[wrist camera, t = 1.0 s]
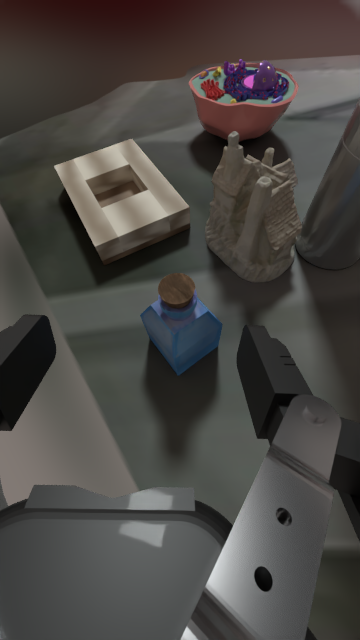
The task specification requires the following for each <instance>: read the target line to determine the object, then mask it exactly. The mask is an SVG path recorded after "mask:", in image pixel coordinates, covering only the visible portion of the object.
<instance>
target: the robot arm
mask: <svg viewBox="0 0 360 640" xmlns="http://www.w3.org/2000/svg"><path fill="white" fill-rule="evenodd" d="M295 245H296V249H297V251H298V252H299V254H300V255H301V256H302V257H303V258H304V259H305V260H306V261H308V262H309V263H311V264H313V265H315V266H318V267H321V268H325V269H334V270H336V269H343V268H347V267H349V266H351V265H353V264H354V263H355V262H356V261H357V260H358V259H359V258H360V98H359V100H358V103H357V105H356V107H355V109H354V111H353V113H352V116H351V118H350V120H349V122H348V124H347V126H346V129H345V131H344V133H343V135H342V138H341V140H340V142H339V144H338V146H337V148H336V151H335V153H334V155H333V157H332V159H331V161H330V164H329V166H328V168H327V170H326V172H325V174H324V177H323V179H322V181H321V183H320V185H319V187H318V190H317V192H316V194H315V196H314V198H313V200H312V203H311V205H310V207H309V209H308V211H307V213H306V215H305V217H304V220H303V222H302V230H301V233H300V234H298V235H297V241H296V242H295ZM55 355H56V344H55V341H54V337H53V334H52V330H51V326H50V322H49V319H48V317H47V316H45V315H23V316H22V317H21V318H20V319H19V320H18V321H17V322H16V323H15V324H14V325H13V326H10V327H8V328H6V329H4V330H3V331H1V332H0V431H1V430H2V431H12V429H13V428H14V426H15V424H16V422H17V421H18V419H19V418H20V416H21V414H22V413H23V411H24V409H25V408H26V406H27V404H28V402H29V401H30V399H31V398H32V396H33V394H34V392H35V391H36V389H37V388H38V386H39V384H40V383H41V381H42V379H43V377H44V376H45V374H46V372H47V371H48V369H49V367H50V366H51V364H52V362H53V361H54V358H55ZM237 368H238V372H239V376H240V379H241V383H242V386H243V390H244V393H245V397H246V401H247V404H248V408H249V411H250V415H251V418H252V422H253V425H254V429H255V433H256V436H257V439H268V441H269V444H270V448H269V450H268V452H267V454H266V457H265V459H264V461H263V463H262V465H261V467H260V470H259V472H258V474H257V476H256V478H255V480H254V482H253V485H252V487H251V489H250V491H249V493H248V495H247V498H246V500H245V502H244V504H243V506H242V508H241V510H240V513H239V515H238V517H237V519H236V521H235V523H234V526H233V525H232V524H231V523H230V522H229V521H228V520H227V519H226V518H225V517H224V516H223V515H221V514H220V513H219V512H218V511H216V510H215V509H213V508H212V507H210V506H208V505H206V504H204V503H202V502H199V501H196V500H194V488H174V487H154V488H150V489H147V490H143V491H139V492H136V493H132V494H128V495H125V496H121V497H117V498H109V497H106V496H103V495H100V494H97V493H94V492H91V491H88V490H86V489H83V488H80V487H77V486H67V485H66V486H65V485H34V487H33V489H32V491H31V493H30V496H29V498H28V499H25V500H22V501H20V502H17V503H14V504H12V505H10V506H8V504H7V502H6V499H5V497H4V494H3V491H2V485H1V480H0V640H317V639H316V638H315V636H314V635H313V633H312V632H311V631H310V629H309V628H308V627H307V626H308V621H309V616H310V611H311V606H312V601H313V596H314V591H315V586H316V581H317V576H318V571H319V566H320V561H321V556H322V551H323V546H324V541H325V536H326V531H327V526H328V521H329V516H330V511H331V506H332V501H333V494H334V489H336V490H338V492H339V494H340V497H341V499H342V501H343V504H344V506H345V508H346V511H347V513H348V515H349V518H350V520H351V522H352V525H353V527H354V530H355V532H356V534H357V537H358V539H359V541H360V423H357V422H354V421H351V420H347V419H344V418H341V417H339V415H338V413H337V412H336V410H335V409H334V408H333V407H332V406H331V405H329V404H328V403H327V402H325V401H324V400H322V399H320V398H318V397H315V396H313V394H312V392H311V390H310V389H309V387H308V385H307V383H306V381H305V380H304V378H303V376H302V374H301V373H300V371H299V369H298V367H297V366H296V364H295V362H294V360H293V358H291V355H290V353H289V351H288V349H287V348H286V346H285V345H283V344H282V343H281V342H280V341H279V340H278V339H276V338H270V336H269V334H268V332H267V330H266V328H265V327H264V326H256V325H245V326H244V328H243V332H242V336H241V340H240V344H239V348H238V352H237Z"/></svg>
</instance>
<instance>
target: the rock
mask: <svg viewBox="0 0 360 640" xmlns="http://www.w3.org/2000/svg"><path fill="white" fill-rule="evenodd" d="M238 141H239V134H238V133H237V132H236V131H233V132H232V133H231V134H230V135H229V136H228V147H226V146H225V147H224V150H223V156H222V158H221V161H220V163H219V166H218V167H217V169H216V171H215V172H214V175H213V178H212V181H211V182H212V183H213V185H214V199H213V201H212V202H211V203H210V205H211V209H210V218H209V219H208V221H207V224H206V229H205V238H206V243H207V245H208V247H209V248H210V250H212V251H213V252H214V253H215V254H216V255H217V256H219V258H220V259H222V260H223V262H224V263H225V264H226V265H227V266H229V267H230V268H231V269H232V271H234V272H235V273H236V274H237V275H238V276H239V277H240V278H242V279H244V280H247V281H250V282H269V281H271V280H273V279H275V278H277V277H279V276H280V275H281V274H282V273H284V272H285V271H286V270H287V269H288V268H289V266H290V265H291V264H292V263H293V260H294V255H295V253H294V250H295V249H294V244H295V242H296V241H297V235H298V234H300V233H301V230H302V224H301V222H300V220H299V216H298V214H297V209H296V206H295V204H294V196H293V195H294V192H293V190H294V189H293V187H295V186H296V185H297V184H298V181H297V177H296V173H295V170H294V164H293V162H292V161H291V159H287V161H285V162H283V163H281V164H278V165H276V166H274V167H272V162H273V160H272V159H273V155H274V148H268V149H267V150H266V151H265V155H264V158H263V159H262V163H261V162H260V161H259V160H257V159H255V158H253V157H252V156H250V155H249V154H248V155H247V157H246V159H245V158H244V156H243V147H242V146H240V145H239V144H238Z"/></svg>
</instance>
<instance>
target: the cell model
mask: <svg viewBox="0 0 360 640" xmlns="http://www.w3.org/2000/svg"><path fill="white" fill-rule="evenodd" d="M242 61H243V60H242V59H240V61H239V64H230V65H229V62H227V61H225V63H224V66H218V67H212V68H208V69H206V70H204V71H202V72H201V73H199V74H197V75H196V76H194V77H193V78H192V79H191V80H190V81H189V85H190V88H191V91H192V94H193V97H194V100H195V103H196V108H197V113H198V117H199V120H200V123H201V125H202V126H203V128H204V129H205V130H206V131H207V132H209V133H211V134H213V135H215V136H219V137H221V138H223V139H225V140H227V141H228V136H229V135H230V134H231V133H232V132H233V131H236V132H237V133H238V134H239V141H238V142H241V141H244V140H250V139H255V138H258V137H260V136H262V135H263V134H265V133H267V132H268V131H269V130H270V129H271V128H272V127H273V126H274V125H275V123H276V122H277V121H278V120H279V118H280V117H281V116H282V115H283V114H284V112H285V111H286V110H287V108H288V106H289V105H290V103H291V101H292V100H293V99H294V97H295V95H296V93H297V90H298V84H297V82H296V81H295V80H294V79H293V77H292V75H291V74H290V73H288V72H287V71H285V70H282V69H278V68H274V66H273V65H272V64H270V63H269V62H268V61H266V60H263V62H261V63H246V62H243V63H242Z"/></svg>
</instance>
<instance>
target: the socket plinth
mask: <svg viewBox="0 0 360 640" xmlns="http://www.w3.org/2000/svg"><path fill="white" fill-rule="evenodd" d="M54 167H55V169H56V171H57V173H58V175H59V177H60V179H61V181H62V183H63V185H64V187H65V189H66V191H67V193H68V195H69V197H70V199H71V201H72V203H73V205H74V207H75V209H76V211H77V213H78V214H79V216H80V218H81V220H82V222H83V224H84V226H85V228H86V230H87V232H88V234H89V236H90V238H91V240H92V242H93V244H94V246H95V248H96V250H97V252H98V254H99V256H100V258H101V260H102V262H103V264H104V265H107V264H109V263H111V262H113V261H116V260H118V259H120V258H123V257H125V256H127V255H129V254H132V253H134V252H136V251H139V250H141V249H143V248H145V247H148V246H150V245H152V244H155V243H157V242H159V241H161V240H164V239H166V238H168V237H171V236H173V235H175V234H177V233H180V232H182V231H184V230H187V229H189V228H190V208H189V206H188V205H187V203H186V202H185V201H184V200H183V199H182V197H181V196H180V195H179V194H178V193H177V192H176V190H175V189H174V188H173V187H172V186H171V184H170V183H169V182H168V181H167V180H166V179H165V177H164V176H163V175H162V174H161V173H160V171H159V170H158V169H157V168H156V167H155V166H154V164H153V163H152V162H151V161H150V160H149V158H148V157H147V156H146V155H145V154H144V152H143V151H142V150H141V149H140V148H139V147H138V145H137V144H136V143H135V142H134V141H133V139H130V140H127V141H124V142H121V143H118V144H115V145H112V146H110V147H107V148H104V149H101V150H98V151H95V152H93V153H90V154H87V155H84V156H81V157H78V158H76V159H73V160H70V161H67V162H64V163H61V164H59V165H56V166H54Z"/></svg>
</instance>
